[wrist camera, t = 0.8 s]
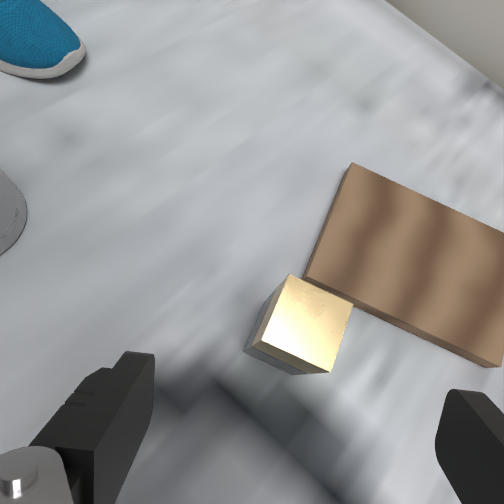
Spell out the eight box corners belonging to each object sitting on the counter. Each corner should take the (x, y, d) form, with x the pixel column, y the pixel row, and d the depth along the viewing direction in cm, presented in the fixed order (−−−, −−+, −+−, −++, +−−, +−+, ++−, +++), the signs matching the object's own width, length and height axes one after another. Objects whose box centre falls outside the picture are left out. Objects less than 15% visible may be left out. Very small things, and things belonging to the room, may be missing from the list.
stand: (301, 281, 37) (306, 275, 35) (345, 172, 42) (352, 162, 40) (485, 367, 37) (501, 367, 35) (507, 247, 42) (522, 241, 40)
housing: (242, 351, 34) (261, 339, 25) (264, 302, 36) (289, 274, 27) (292, 375, 34) (330, 372, 25) (311, 324, 36) (353, 304, 27)
